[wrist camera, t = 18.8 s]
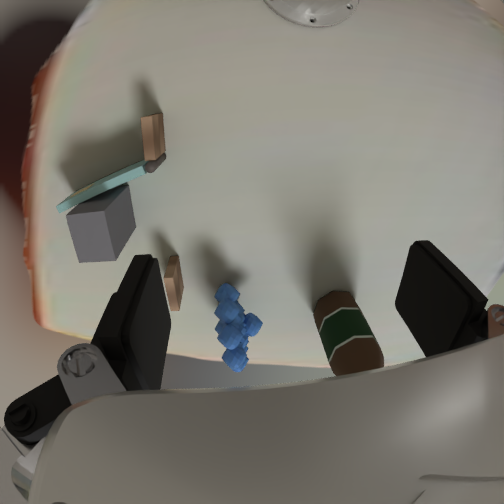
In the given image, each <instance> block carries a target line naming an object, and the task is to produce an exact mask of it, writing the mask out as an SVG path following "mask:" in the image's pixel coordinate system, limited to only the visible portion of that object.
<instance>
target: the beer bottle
mask: <svg viewBox="0 0 504 504" xmlns="http://www.w3.org/2000/svg"><path fill="white" fill-rule="evenodd" d="M313 316H314V319H315V323H316V326H317V329H318V332H319V335H320V338H321V341H322V344H323V347H324V350H325V352H326V355H327V358H328V362H329V364H330V366H331V369H332V371H333V373H334V374H335V375H336V376H341V375H347V374H352V373H358V372H363V371H369V370H374V369H379V368H383V367H384V356H383V354H382V351H381V348H380V346H379V344H378V342H377V340H376V338H375V336H374V334H373V332H372V331H371V329H370V327H369V325H368V323H367V321H366V319H365V317H364V315H363V313H362V311H361V310H360V308H359V306H358V305H357V303H356V302H355V300H354V299H353V297H352V296H351V294H350V293H349V292H341V291H332V292H330V293H329V294H327V295H326V296H324V297H323V298H321V299H319V300H318V303H317V306H316V308H315V311H314V314H313Z"/></svg>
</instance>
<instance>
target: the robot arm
mask: <svg viewBox="0 0 504 504" xmlns="http://www.w3.org/2000/svg"><path fill="white" fill-rule="evenodd" d="M264 1H265V2H266V4H267V5H268V6H269V7H270V8H271V9H272V10H273V11H274V12H275V13H276V14H278V15H280V16H281V17H283V18H284V19H286V20H288V21H291V22H293V23H295V24H299V25H302V26H308V27H327V26H332V25H335V24H338V23H340V22H342V21H344V20H345V19H347V18H348V17H349V16H350V15H352V13H353V12H354V11H355V10H356V7H357V5H358V3H359V0H273V1H271V0H264ZM501 1H502V2H503V3H504V0H501ZM347 7H348V8H349V9H348V8H347ZM310 20H312V21H313V23H311V22H310ZM487 301H488V299H487V298H486V297H485V296H484V294H483V293H482V292H481V291H480V290H479V289H478V288H477V287H476V286H475V285H474V284H473V283H472V282H471V281H470V280H469V279H468V278H467V277H466V276H465V275H464V274H463V273H462V272H461V271H460V270H459V269H458V268H457V267H456V266H455V265H454V264H453V263H452V262H451V261H450V260H449V259H448V258H447V257H446V256H445V255H444V254H443V253H442V252H441V251H440V250H439V249H438V248H436V247H435V246H434V245H433V244H432V243H431V242H430V241H428V240H425V241H415V242H414V243H413V245H411V246H410V249H409V253H408V257H407V261H406V265H405V268H404V272H403V276H402V279H401V283H400V286H399V290H398V293H397V297H396V300H395V306H396V309H397V311H398V312H399V314H400V315H401V317H402V319H403V320H404V322H405V323H406V325H407V326H408V328H409V330H410V331H411V333H412V334H413V336H414V338H415V339H416V341H417V343H418V344H419V346H420V348H421V349H422V351H423V353H424V354H425V356H426V358H422V359H418V360H414V361H410V362H406V363H401V364H397V365H393V366H388V367H383V368H379V369H374V370H369V371H363V372H358V373H352V374H347V375H341V376H334V377H328V378H321V379H314V380H307V381H298V382H290V383H280V384H270V385H258V386H244V387H227V388H206V389H164V390H160V388H161V381H162V375H163V369H164V363H165V357H166V352H167V346H168V340H169V335H170V329H171V318H170V313H169V309H168V305H167V301H166V296H165V292H164V287H163V282H162V278H161V273H160V268H159V263H158V260H157V258H153V257H152V255H151V254H145V255H135V256H134V258H133V260H132V262H131V264H130V266H129V268H128V270H127V272H126V274H125V276H124V278H123V280H122V282H121V284H120V286H119V289H118V291H117V292H115V293H113V295H112V296H111V298H110V300H109V302H108V305H107V307H106V309H105V311H104V313H103V316H102V318H101V320H100V322H99V325H98V327H97V329H96V332H95V334H94V336H93V339H92V341H91V344H88V343H82V344H77V345H74V346H72V347H70V348H69V349H67V350H66V351H65V352H64V353H63V354H62V355H61V357H60V358H59V360H58V364H57V370H58V375H57V376H55V377H53V378H52V379H50V380H48V381H47V382H45V383H43V384H42V385H40V386H38V387H36V388H35V389H33V390H31V391H29V392H28V393H26V394H25V395H23V396H21V397H19V398H18V399H16V400H15V401H13V402H12V403H11V404H10V405H9V406H8V408H7V410H6V412H5V417H4V422H5V425H4V427H3V428H1V427H0V504H504V306H502V305H499V304H493V305H491V306H490V307H489V308H488V310H487V311H486V310H485V309H484V308H485V306H486V303H487Z"/></svg>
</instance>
